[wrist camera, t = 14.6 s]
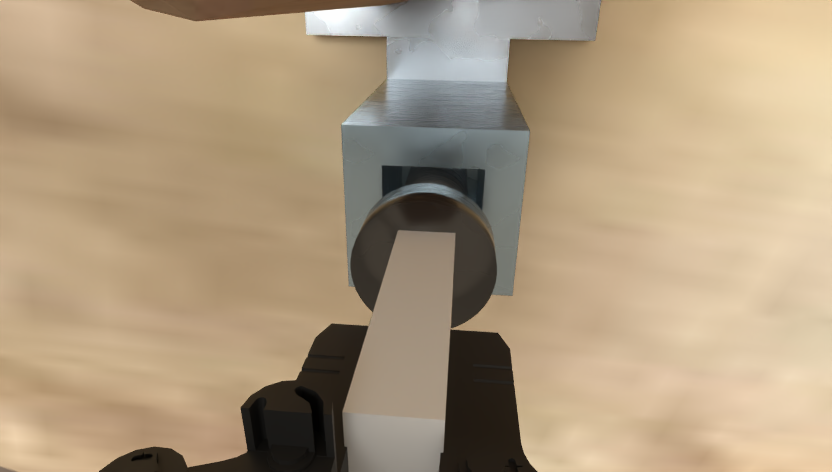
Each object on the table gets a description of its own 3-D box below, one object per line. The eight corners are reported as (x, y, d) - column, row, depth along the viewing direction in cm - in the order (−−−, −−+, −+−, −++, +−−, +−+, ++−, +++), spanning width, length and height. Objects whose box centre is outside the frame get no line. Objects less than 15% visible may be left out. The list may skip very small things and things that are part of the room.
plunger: (394, 207, 24) (352, 327, 15) (393, 120, 22) (347, 198, 13) (482, 211, 23) (491, 336, 15) (488, 123, 22) (503, 205, 13)
